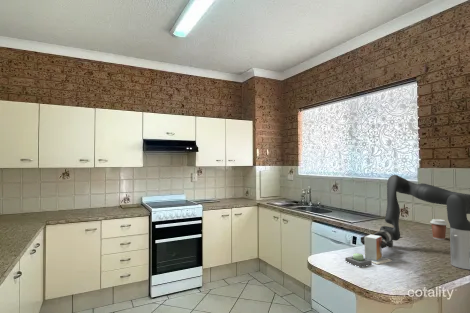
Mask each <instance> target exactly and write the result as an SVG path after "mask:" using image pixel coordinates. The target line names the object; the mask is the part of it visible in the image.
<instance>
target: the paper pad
mask: <svg viewBox="0 0 470 313" xmlns="http://www.w3.org/2000/svg"><path fill="white" fill-rule="evenodd" d="M363 258H365V256H363ZM366 259H367V258H366ZM369 260H372V259H369ZM392 261H393V260H392V259H391V258H390V259H389V258H387V257H383V256H382V257H381V258H380V259H378V260H377V261H376V260H372V264H374V265H377V266H378V265H382V264H385V263H386V264H387V263H389V262H392Z"/></svg>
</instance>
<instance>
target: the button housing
mask: <svg viewBox="0 0 470 313" xmlns="http://www.w3.org/2000/svg"><path fill="white" fill-rule="evenodd" d="M344 259H345V261H347V262H349V263H348V264H350V263H351V264H350V265H352V264H354V265H353V266H355V265H356V267H357V266H359V267H358V268H363V267H362V266H364V267H367V266H366V265H368V266H371V265H372V264H373V263H372V260H369V259H366V258H363V261H357V260H354V259H353V255H352V256H348V257H345V258H344ZM347 262H346V263H347Z"/></svg>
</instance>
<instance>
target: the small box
mask: <svg viewBox="0 0 470 313" xmlns="http://www.w3.org/2000/svg"><path fill="white" fill-rule="evenodd" d="M365 236H366V237H365V245H364V255H365V258H367V259H372V260H376V261H377V260H378V259H380V258H381V257H383V256H382V254H383V253H382V252H383V250H382V249H383V248H381V243H382V236H377V235H373V234H372V233H370V234H368V235H365Z"/></svg>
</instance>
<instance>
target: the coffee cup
mask: <svg viewBox="0 0 470 313" xmlns="http://www.w3.org/2000/svg"><path fill="white" fill-rule="evenodd" d="M429 223H430V224H431V232H432V233H431V234H432V239H435V240H439V241H445V240H446V232H447V226H448V225H449V222H446V220H445V219H440V218H433V219H431V220H430V221H429Z"/></svg>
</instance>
